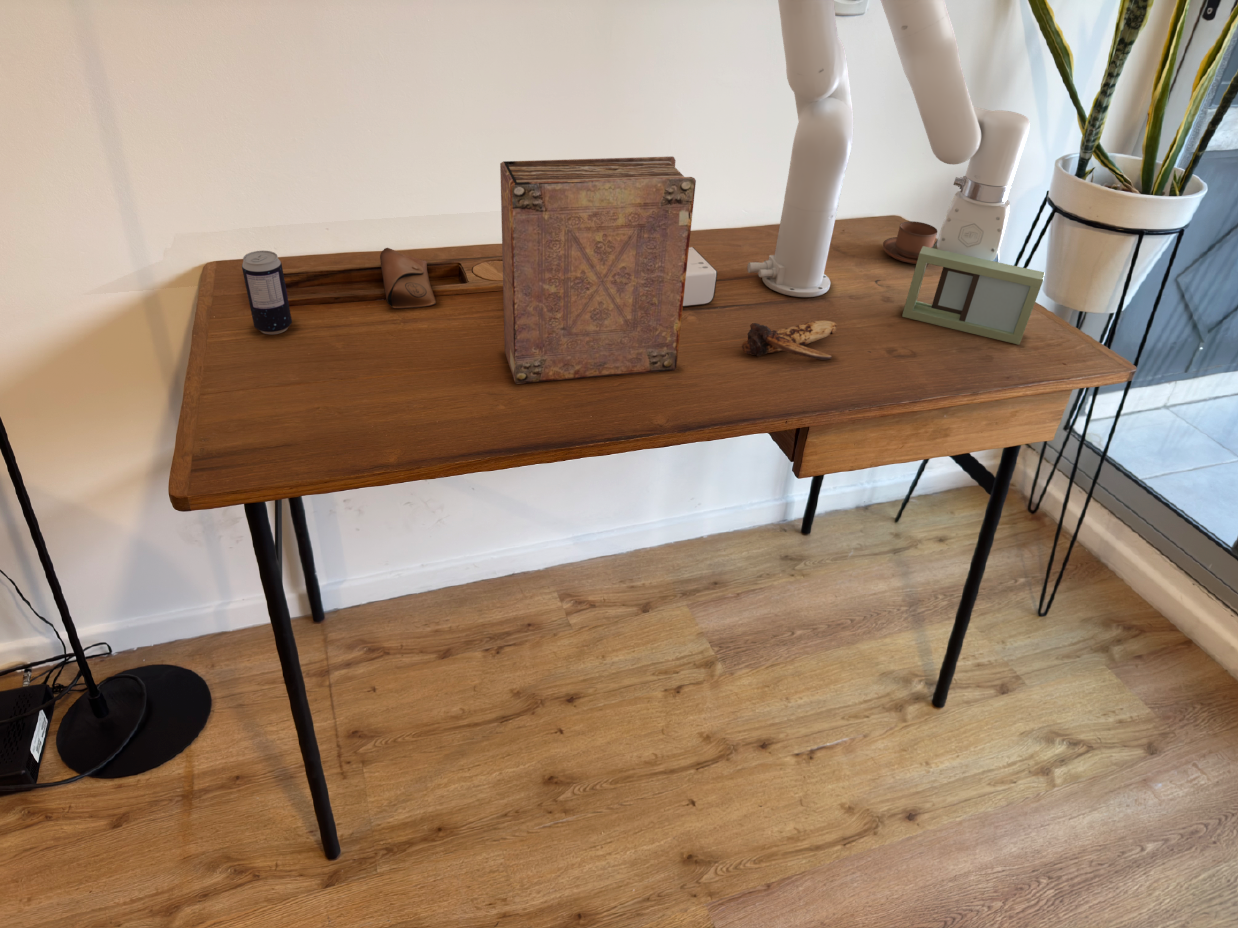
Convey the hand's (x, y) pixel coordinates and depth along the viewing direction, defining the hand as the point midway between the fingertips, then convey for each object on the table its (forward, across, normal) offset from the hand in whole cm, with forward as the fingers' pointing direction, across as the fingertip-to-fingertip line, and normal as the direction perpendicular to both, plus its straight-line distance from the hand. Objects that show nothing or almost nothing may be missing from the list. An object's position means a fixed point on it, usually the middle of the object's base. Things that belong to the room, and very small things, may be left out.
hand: (954, 290), depth 159 cm
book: (+4, -48, -52) cm, 71 cm away
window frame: (+3, +3, -7) cm, 8 cm away
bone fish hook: (+4, -20, -32) cm, 38 cm away
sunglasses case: (+4, -87, -44) cm, 98 cm away
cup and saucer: (+4, -10, +20) cm, 23 cm away
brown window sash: (+2, +2, -3) cm, 4 cm away
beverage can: (+4, -95, -68) cm, 117 cm away
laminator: (+4, -54, -30) cm, 62 cm away
